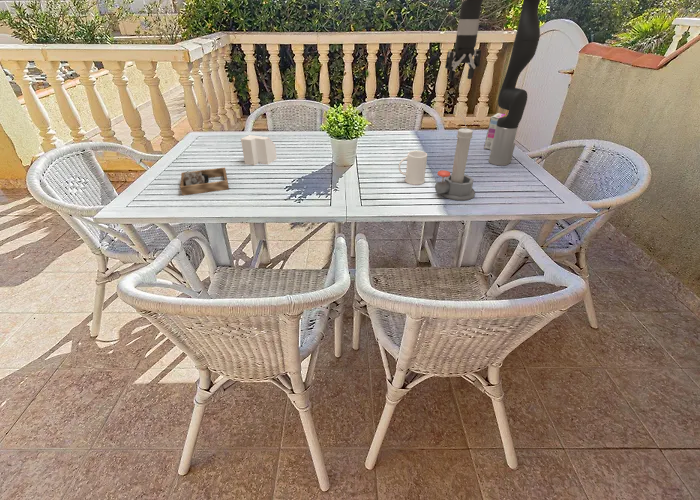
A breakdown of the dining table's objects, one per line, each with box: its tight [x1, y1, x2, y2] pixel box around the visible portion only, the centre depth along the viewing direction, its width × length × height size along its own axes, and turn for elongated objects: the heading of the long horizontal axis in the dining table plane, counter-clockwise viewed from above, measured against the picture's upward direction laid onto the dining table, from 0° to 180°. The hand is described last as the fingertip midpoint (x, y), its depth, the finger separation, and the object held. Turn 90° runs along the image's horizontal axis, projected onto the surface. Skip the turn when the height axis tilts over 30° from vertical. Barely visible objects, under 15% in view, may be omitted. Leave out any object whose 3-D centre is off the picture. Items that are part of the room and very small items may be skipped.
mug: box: [398, 150, 428, 186], centre depth 156 cm, size 12×8×12 cm
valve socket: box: [434, 169, 476, 202], centre depth 146 cm, size 17×14×10 cm
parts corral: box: [179, 167, 230, 196], centre depth 155 cm, size 18×16×4 cm
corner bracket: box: [240, 134, 278, 166], centre depth 175 cm, size 11×11×12 cm
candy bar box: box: [483, 112, 507, 151], centre depth 191 cm, size 11×5×16 cm, turn 144°
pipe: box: [451, 113, 474, 184], centre depth 140 cm, size 6×6×30 cm
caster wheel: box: [184, 170, 210, 186], centre depth 155 cm, size 7×11×10 cm
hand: (460, 79), depth 148 cm, fingers open, 8 cm apart
